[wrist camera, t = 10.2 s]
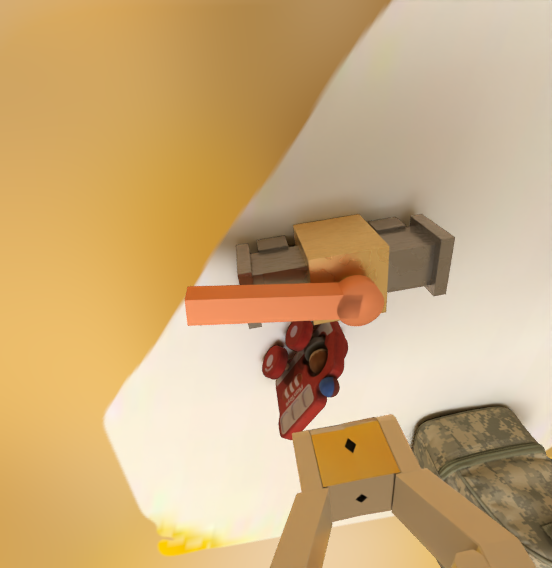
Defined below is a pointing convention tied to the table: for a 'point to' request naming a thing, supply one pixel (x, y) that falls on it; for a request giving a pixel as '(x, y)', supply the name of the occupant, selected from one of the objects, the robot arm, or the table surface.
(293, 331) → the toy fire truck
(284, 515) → the table surface
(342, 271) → the pipe valve
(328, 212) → the table surface
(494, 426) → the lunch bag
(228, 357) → the table surface
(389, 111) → the table surface
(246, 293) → the lever
